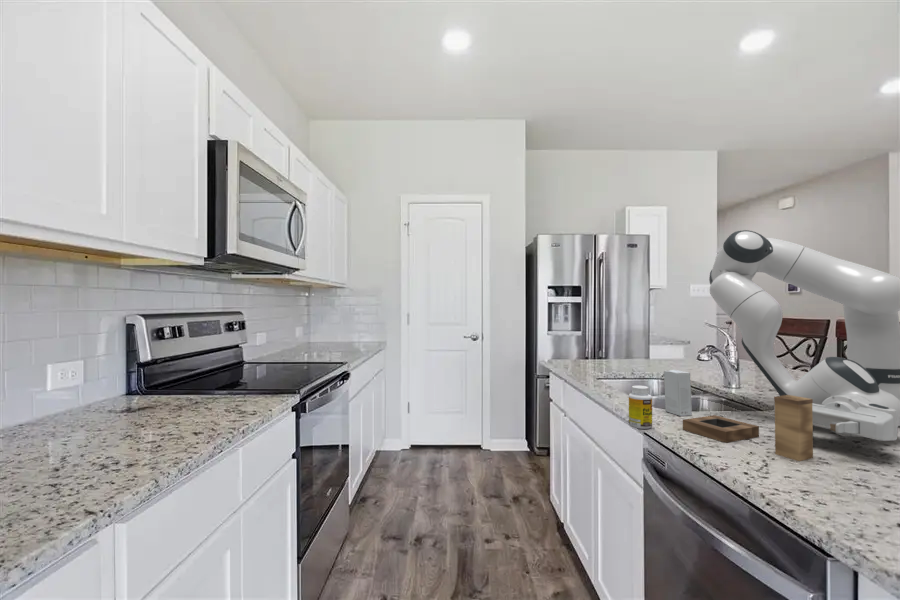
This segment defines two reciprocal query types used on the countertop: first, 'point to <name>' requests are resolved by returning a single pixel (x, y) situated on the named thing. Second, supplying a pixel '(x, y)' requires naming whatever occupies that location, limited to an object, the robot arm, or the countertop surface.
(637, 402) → the supplement bottle
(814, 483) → the countertop surface
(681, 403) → the skincare box
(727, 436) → the wooden square frame
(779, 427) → the peg
